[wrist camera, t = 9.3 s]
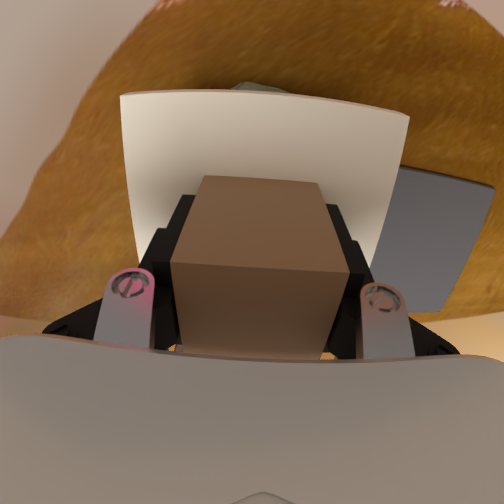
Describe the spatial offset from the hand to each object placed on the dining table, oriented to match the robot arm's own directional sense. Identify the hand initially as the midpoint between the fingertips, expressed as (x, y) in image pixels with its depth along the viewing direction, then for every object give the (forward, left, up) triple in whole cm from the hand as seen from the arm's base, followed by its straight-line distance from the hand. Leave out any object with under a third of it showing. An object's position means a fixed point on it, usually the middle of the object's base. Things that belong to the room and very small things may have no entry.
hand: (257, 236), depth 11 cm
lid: (0, 0, -2) cm, 2 cm away
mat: (-12, +6, -9) cm, 16 cm away
